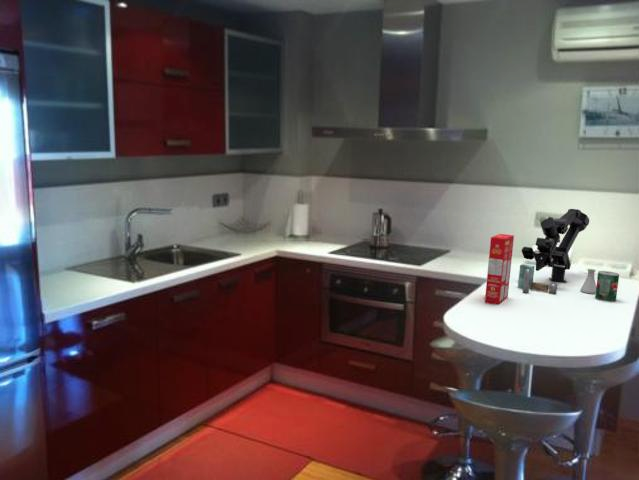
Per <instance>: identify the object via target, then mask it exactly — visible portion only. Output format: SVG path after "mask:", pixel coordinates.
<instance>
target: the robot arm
mask: <svg viewBox="0 0 639 480" xmlns="http://www.w3.org/2000/svg"><path fill="white" fill-rule="evenodd" d="M589 224H590V218H589V216H588V215H587V214H585V213H583V212H582V211H581V210H580V209H578V208H577V209H576V208H570V209H569V208H568V210H567V211H566V213H564V214H563V215H562V216H561V217H560V218H555V219H554V217H551V216H547V218H546V219H543V220H542V221H540V227H541V230H542V233H543V235H544V237H545V238H544V237H543V238H542V237H537V238H536V240H535V246H537V247H536V249H537V250H536V249H535V250H534V249H533V247H531V246H523V247H522V248H521V253H522V255H523V256H522V257H523V258H524V259H525V260H533V259H534V261H535V271H536V272H539V271H540V270H542V269H544V268H545V267H547V266H548V268H549V267H551V274H550V275H551V277H548V279H549V280H550V281H551V282H555V283H556V282H557V283H567V281H566V279H565V276H566V270H567V271H569V270H571V265H572V263H571V260H570V255H569V252H570V249H571V248H572V246H573V244H574V242H575V241H576V239H577V237H578V235H579V234H580V232H583V231H585V230H586V228H587V227H588V226H589ZM561 235H564V236H563V238H562V239H561ZM558 243H559V244H558ZM557 245H558V246H557Z"/></svg>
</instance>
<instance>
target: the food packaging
mask: <svg viewBox="0 0 639 480" xmlns="http://www.w3.org/2000/svg"><path fill="white" fill-rule="evenodd" d="M514 239H515V235H513V234H505V233H499V234H496V235H494V236H492V237H490V244H489V245H490V246H489V253H488V254H489V255H488V265H487V275H486V285H485V295H484V296H485V297H484V303H487V304H491V305H492V304H493V305H500V304H502V303H503V302H504V301H505V300H507V299H508V297H509V289H510V278H511V269H512V268H511V267H512V259H513V249H514V248H513V247H514ZM506 298H507V299H506Z"/></svg>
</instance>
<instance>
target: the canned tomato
mask: <svg viewBox="0 0 639 480" xmlns="http://www.w3.org/2000/svg"><path fill="white" fill-rule="evenodd" d="M619 278H620V274H619V273H618V272H613V271H606V270H605V271H604V270H599V271H597V278H596V293H595V294H594V299H595V300H597V301H601V302H607V303H615V302H617V295H618V288H619V281H620V279H619Z"/></svg>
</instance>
